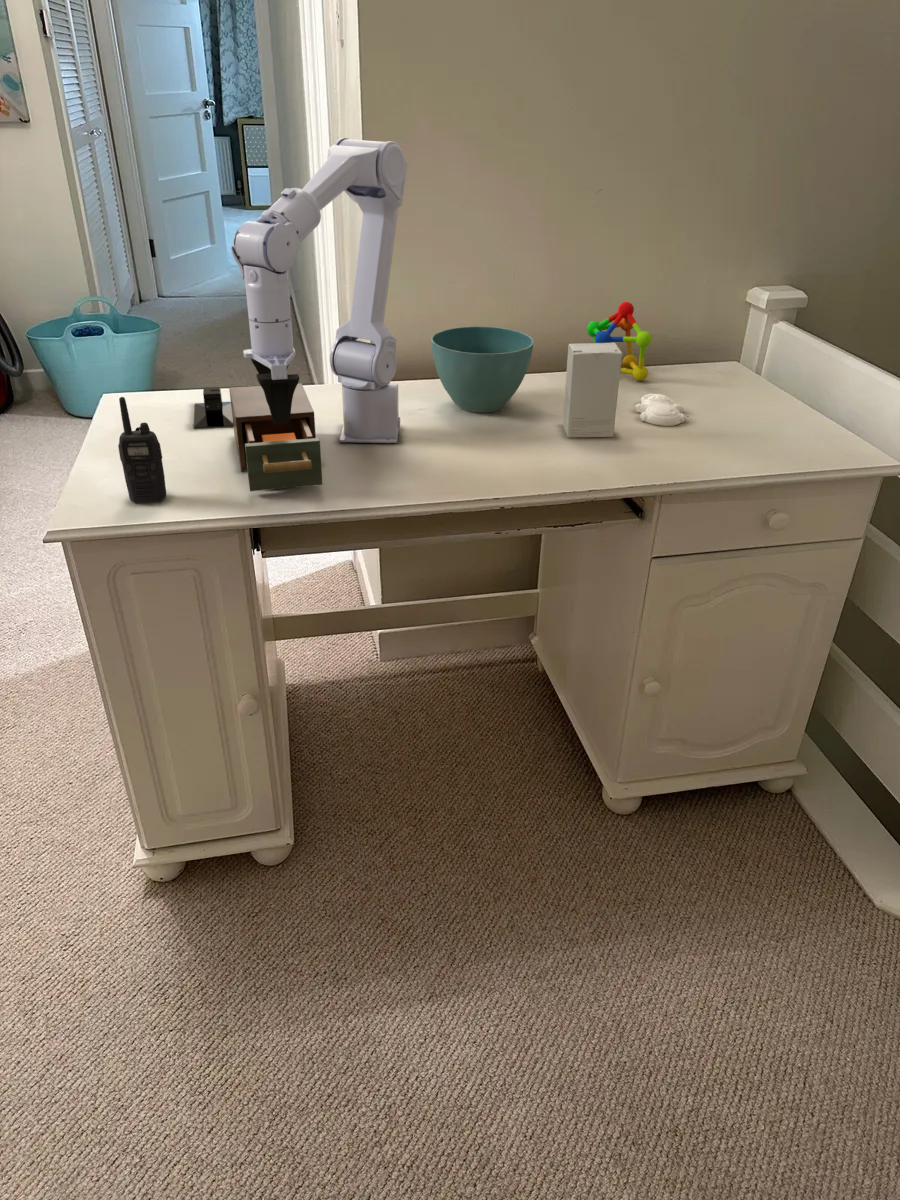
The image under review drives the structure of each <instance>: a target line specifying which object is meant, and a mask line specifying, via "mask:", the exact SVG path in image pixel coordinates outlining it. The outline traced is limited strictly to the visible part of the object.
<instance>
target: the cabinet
mask: <svg viewBox="0 0 900 1200" xmlns="http://www.w3.org/2000/svg"><path fill="white" fill-rule="evenodd" d="M228 389H229V390H228V391H229V400H230V402H231V409H232V417H233V426H234V427H233V433H234V442H235V446H236V451H237V457H238V461H239V467H240V471H241V473H242V472H248V470H247V461H246V452H245V444H246V437H245V427H244V422H251V421H265V420H273V419H272V416H271V413H270V409H269V406H268V403H267V401H266V397H265V394H264V390H263V389H262V387H261V385H255V386H252V385H251V386H240V387H239V386H238V387H229V388H228ZM292 418H305V419H306V421H307V424H308V426H309V429H310V431H311V434H312V436H313V438H317V437H316V436H317V435H316V422H315V421H316V420H315V410H314V408H313V407H312V404H311V401H310V399H309V397H308V395H307V393H306V390H305V388H304V386H303V383H302V382H301V383H298V384H297V386H296V389H295V391H294V394H293V399H292V406H291V414H290V419H292Z"/></svg>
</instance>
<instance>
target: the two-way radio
mask: <svg viewBox="0 0 900 1200" xmlns="http://www.w3.org/2000/svg"><path fill="white" fill-rule="evenodd" d="M119 408H120V409H119V410H120V415H121V421H122V422H121V423H122V427H123V432H122V433H121V434H120V435H119V440H118V445H117V446H118V447H117V448H118V454H119V460H120V462H121V465H122V470H123V476H124V480H125V481H124V482H125V485H126V488H127V493H128V498H129V500H130V501H131V502H132V503H135V504H136V503H155V502H162V501H163V500H165V499H166V497H167V487H166V478H165V470H164V465H163V453H162V448H161V443H160V442H159V439H158V436H157V435H156V433H155V432H154V431H152V430H151V429H150V426H149V424H148V423H147V422H141V423H140V424H139V426H137V427H136V428H135V429H134V430H132V424H131V419H130V415H129V410H128V406H127V400H126V398H125V397H124V396H120V397H119Z"/></svg>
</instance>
